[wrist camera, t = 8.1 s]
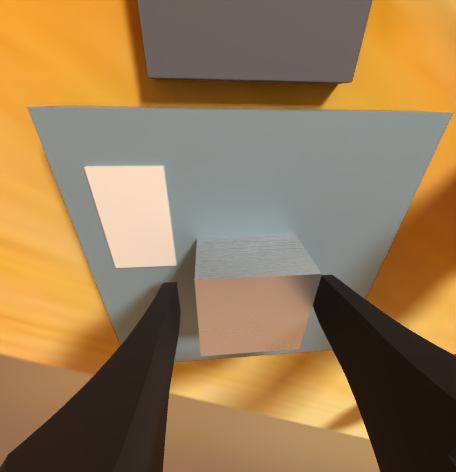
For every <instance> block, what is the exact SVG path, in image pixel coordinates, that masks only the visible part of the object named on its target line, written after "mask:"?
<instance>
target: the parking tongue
mask: <svg viewBox="0 0 456 472" xmlns="http://www.w3.org/2000/svg"><path fill="white" fill-rule="evenodd" d="M137 3H138V10H139V17H140V24H141V31H142V39H143V46H144V53H145V60H146V67H147V74H148V77H149V78H151V79H169V80H210V81H251V82H292V83H333V84H341V83H350V82H352V80H353V76H354V72H355V68H356V64H357V60H358V56H359V52H360V48H361V44H362V40H363V36H364V32H365V28H366V24H367V20H368V16H369V12H370V8H371V4H372V0H137Z"/></svg>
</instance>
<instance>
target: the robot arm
mask: <svg viewBox="0 0 456 472" xmlns="http://www.w3.org/2000/svg"><path fill="white" fill-rule="evenodd" d="M313 308H314V311H315V313H316V316H317V319H318V321H319V324H320V326H321V328H322V330H323V332H324V334H325V336H326V338H327V340H328V342H329V343H330V345H331V347H332V349H333V351H334V353H335V355H336V357H337V359H338V361H339V363H340V365H341V367H342V369H343V371H344V373H345V375H346V378H347V380H348V383H349V385H350V388H351V390H352V392H353V395H354V397H355V400H356V403H357V405H358V408H359V411H360V413H361V416H362V419H363V421H364V424H365V427H366V430H367V433H368V436H369V438H370V441H371V444H372V447H373V450H374V453H375V456H376V459H377V462H378V466H379V469H380V472H456V356H455V355H453V354H451V353H449V352H447V351H446V350H444V349H442V348H440V347H438V346H436V345H434V344H433V343H431V342H429V341H427V340H426V339H424V338H422V337H421V336H419V335H417V334H416V333H414V332H412V331H411V330H409V329H407V328H406V327H404V326H403V325H401V324H400V323H398V322H397V321H395V320H394V319H392V318H391V317H389V316H388V315H386V314H385V313H383V312H382V311H380V310H379V309H378V308H376V307H375V306H374V305H372V304H371V303H369V302H368V301H367V300H365V299H364V298H363V297H361V296H360V295H359V294H357V293H356V292H355V291H353V290H352V289H351V288H350V287H348V286H347V285H346V284H344V283H343V282H342V281H340V280H339V279H338V278H336V277H335V276H333V275H322V276H321V279H320V282H319V286H318V289H317V292H316V295H315V299H314V302H313ZM180 315H181V309H180V302H179V295H178V288H177V282H166V283H163V284H162V285H161V287H160V289H159V291H158V292H157V294H156V296H155V298H154V299H153V301H152V302H151V304H150V306H149V307H148V309H147V310H146V312H145V313H144V315H143V316H142V318H141V319H140V321H139V322H138V323H137V325H136V326H135V327H134V329H133V330H132V332H131V333H130V334H129V336H128V337H127V338H126V340H125V341H124V342H123V343H122V345H121V346H120V347H119V348H118V349H117V351H116V352H115V353H114V354H113V355H112V356H111V358H110V359H109V360H108V361H107V362H106V363H105V364H104V365H103V366H102V368H101V369H100V370H99V371H98V372H97V373H96V374H95V375H94V376H93V377H92V378H91V379H90V380H89V382H87V384H86V385H85V386H84V387H83V388H81V390H79V391H78V392H77V394H75V395H74V396H73V397H72V398H71V399H70V400H69V401H68V402H67V403H66V404H65V405H64V406H63V407H62V408H61V409H60V410H59V411H58V412H57V413H55V414H54V415H53V416H52V417H51V418H50V419H49V420H48V421H46V422H45V423H44V424H43V425H42V426H41V427H40V428H38V429H37V430H36V431H35V432H34V433H33V434H32V435H30V436H29V437H28V438H27V439H26V440H25V441H24V442H22V443H21V444H20V445H19V446H18V447H17V448H16V449H14V450H13V451H12V452H11V453H10V454H8V456H7V457H6V459H5V461H4V462H3V464H2V466H1V467H0V472H163V459H164V446H165V433H166V421H167V410H168V409H167V408H168V399H169V389H170V382H171V376H172V370H173V365H174V359H175V354H176V348H177V342H178V337H179V329H180Z"/></svg>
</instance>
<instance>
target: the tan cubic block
mask: <svg viewBox="0 0 456 472" xmlns="http://www.w3.org/2000/svg"><path fill="white" fill-rule="evenodd" d="M321 276H322V273H321V272H320V270H319V269H318V267H317V266H316V264H315V263H314V261H313V260H312V258H311V257H310V255H309V254H308V252H307V251H306V249H305V248H304V246H303V245H302V243H301V242H300V240H299V239H298V237H297V236H296V235H275V236H245V237H214V238H197V246H196V263H195V292H196V304H197V316H198V328H199V340H200V352H201V356H211V355H225V354H238V353H251V352H265V351H278V350H291V349H299V348H300V345H301V342H302V338H303V335H304V332H305V328H306V325H307V322H308V319H309V315H310V312H311V309H312V305H313V302H314V299H315V295H316V292H317V289H318V286H319V282H320V279H321Z"/></svg>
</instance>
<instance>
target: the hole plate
mask: <svg viewBox="0 0 456 472" xmlns="http://www.w3.org/2000/svg"><path fill="white" fill-rule="evenodd" d="M27 108H28V111H29V113H30V116H31V118H32V121H33V123H34V126H35V129H36V131H37V134H38V136H39V139H40V141H41V144H42V146H43V149H44V152H45V154H46V157H47V159H48V162H49V164H50V167H51V170H52V172H53V175H54V177H55V180H56V182H57V185H58V188H59V190H60V193H61V195H62V198H63V200H64V203H65V205H66V208H67V211H68V213H69V216H70V218H71V221H72V223H73V226H74V229H75V231H76V234H77V236H78V239H79V241H80V244H81V247H82V249H83V252H84V254H85V257H86V259H87V262H88V264H89V267H90V270H91V272H92V275H93V277H94V280H95V282H96V285H97V288H98V290H99V293H100V295H101V298H102V300H103V303H104V305H105V308H106V311H107V313H108V316H109V318H110V321H111V323H112V326H113V329H114V331H115V334H116V336H117V339H118V341H119V344H120V346H121V345H122V343H123V342H124V341H125V340H126V338H127V337H128V336H129V334H130V333H131V332H132V330H133V329H134V327H135V326H136V325H137V323H138V322H139V321H140V319H141V318H142V316H143V315H144V313H145V312H146V310H147V309H148V307H149V306H150V304H151V302H152V301H153V299H154V298H155V296H156V294H157V292H158V291H159V289H160V287H161V285H162V284H163V283H166V282H177V288H178V295H179V302H180V309H181V315H180V329H179V337H178V342H177V348H176V354H175V359H174V362H180V361H193V360H207V359H220V358H233V357H246V356H259V355H273V354H286V353H299V352H312V351H325V350H333V349H332V347H331V345H330V343H329V342H328V340H327V338H326V336H325V334H324V332H323V330H322V328H321V326H320V324H319V321H318V319H317V316H316V313H315V311H314V308H313V305H312V309H311V312H310V315H309V319H308V322H307V325H306V328H305V332H304V335H303V338H302V342H301V345H300V348H299V349H291V350H278V351H265V352H251V353H238V354H225V355H211V356H201V352H200V340H199V328H198V316H197V304H196V292H195V263H196V246H197V238H214V237H245V236H275V235H296V236H297V237H298V239H299V240H300V242H301V243H302V245H303V246H304V248H305V249H306V251H307V252H308V254H309V255H310V257H311V258H312V260H313V261H314V263H315V264H316V266H317V267H318V269H319V270H320V272H321V273H322V275H333V276H335V277H336V278H338V279H339V280H340V281H342V282H343V283H344V284H346V285H347V286H348V287H350V288H351V289H352V290H353V291H355V292H356V293H357V294H359V295H360V296H361V297H363V298H364V299H366V297H367V295H368V293H369V291H370V289H371V287H372V284H373V282H374V280H375V278H376V276H377V274H378V272H379V270H380V268H381V265H382V263H383V261H384V259H385V257H386V255H387V253H388V251H389V248H390V246H391V244H392V242H393V240H394V238H395V236H396V234H397V231H398V229H399V227H400V225H401V223H402V221H403V219H404V217H405V214H406V212H407V210H408V208H409V206H410V204H411V202H412V200H413V197H414V195H415V193H416V191H417V189H418V187H419V185H420V183H421V180H422V178H423V176H424V174H425V172H426V170H427V168H428V166H429V163H430V161H431V159H432V157H433V155H434V153H435V151H436V149H437V146H438V144H439V142H440V140H441V138H442V136H443V134H444V132H445V129H446V127H447V125H448V123H449V121H450V119H451V117H452V115H453V113H441V112H424V111H387V110H318V109H249V108H180V107H111V106H44V107H27Z"/></svg>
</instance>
